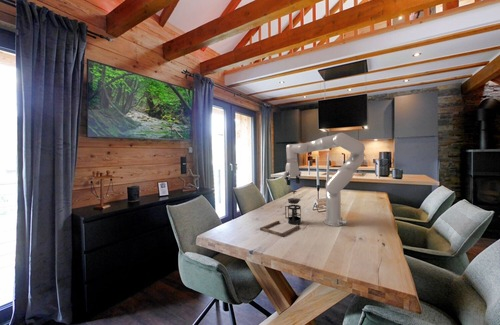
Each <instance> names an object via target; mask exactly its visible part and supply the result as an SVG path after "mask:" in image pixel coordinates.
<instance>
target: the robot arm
mask: <svg viewBox="0 0 500 325" xmlns="http://www.w3.org/2000/svg"><path fill="white" fill-rule="evenodd" d="M285 147H286V149H285V150H286V164H285V172H284V173H283V177H284V179H285V181H286V185H287V186H291V178H292V177H295V184H300V178H301V175H302V171H301V170H300V166H299V163H298V154H301V155H302V154H307V153H311V152H317V151H325V150H329V149H333V148H338V147H340V148H342V149H344V150H345V151H348V152H349V153H350V155H349V157H348V159H347V160H346V161H345V162H344V163H343V164H342V165H341V166H340V167H339V168H338V169H337V171H336V173H334V175H333V176H332V177H331V178H329V179H327V180H326V182H325V214H326V215H325V218H326V219H324V220H323V223H324V224H325V225H327V226H331V227H341V226H343V225H344V224H347V223H348V220H346V219H343V217H342V214H341V213H342V212H341V211H342V210H341V207H342V206H341V204H342V203H341V191H342V190H343V189H344V188H345V187H346V186H347V185H348V184H349V183H350V182H351V180H353V178H354V177H353V176H354V173H355V172H356V171H357V170H358V169H359V168H360V167H361V166H362V164H363V162H364V160H365V151H366V146H365V144H364V143H363V142H361V140H358V139H356V138H354V137H352V136H350V135H349V134H347V133H344V132H338V133H335V134H333V135H327V136H323V137H320V138H317V139H316V140H312V141H307V142H304V143H303V142H300V143H293V144H291V143H289V144H287V145H286V146H285Z"/></svg>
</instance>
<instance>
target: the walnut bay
mask: <svg viewBox="0 0 500 325" xmlns="http://www.w3.org/2000/svg"><path fill="white" fill-rule="evenodd" d="M280 222H281V221H280V220H275V221H274V222H271V223H268V224H266V225H264V226H261V227H259V231H260V232H261V231H262V232H263V233H264V232H265V233H268V234H272V235H275V236H278V237H281V238H284V237H286V236H288V235H289V234H291V233H293V232H295V231H297V230H299V229H301V228H300V225H295V226H293V227H292V228H289V229H288V230H285V231H283V232H279V231H275V230H272V229H269V228H271V227H274V226H276V225H279V224H280Z"/></svg>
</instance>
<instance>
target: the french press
mask: <svg viewBox="0 0 500 325" xmlns="http://www.w3.org/2000/svg"><path fill="white" fill-rule="evenodd" d="M290 192H291V193H292V194H293V195H295V194H296V193H297V192H298V191H297V190H291V191H290ZM287 201H288V204H289V205H285V207H284V208H285V209H284V211H285V215H284V216H285V217H284V218H285V219H287V220H288V221H287V224H289V225H291V226H300V225H301V224H302V206H301V205H299V204H298V203H299V202H300V201H301V198H297V197H296V198H295V197H292V198H287ZM290 210H291V212H290ZM298 210H299V212H298Z"/></svg>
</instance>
